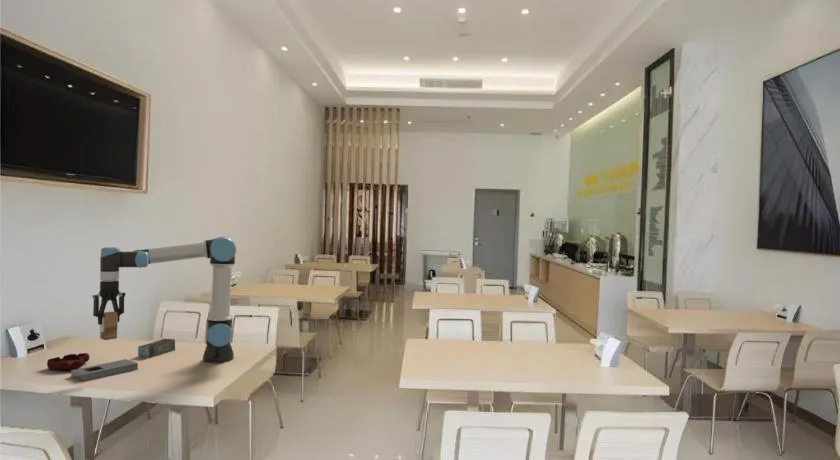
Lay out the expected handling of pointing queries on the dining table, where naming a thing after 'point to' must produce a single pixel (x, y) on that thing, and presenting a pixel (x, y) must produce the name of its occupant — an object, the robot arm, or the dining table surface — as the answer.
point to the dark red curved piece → (68, 362)
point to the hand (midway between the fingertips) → (108, 330)
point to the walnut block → (109, 326)
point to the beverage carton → (156, 348)
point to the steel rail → (104, 370)
